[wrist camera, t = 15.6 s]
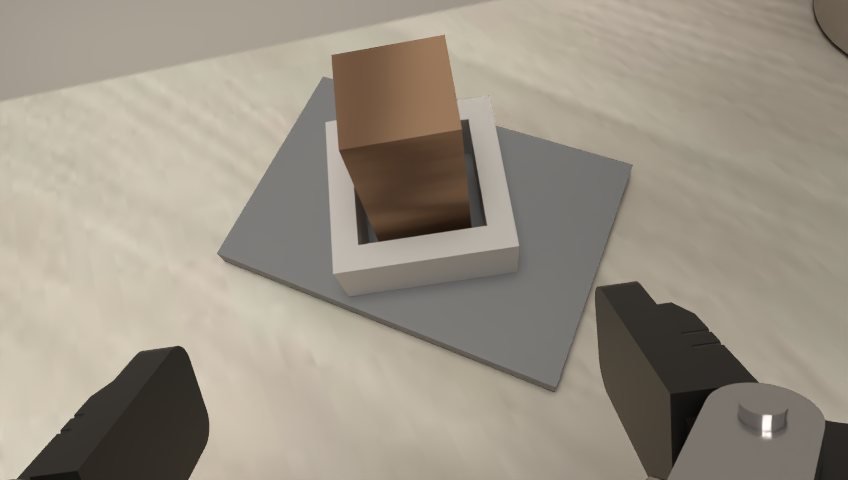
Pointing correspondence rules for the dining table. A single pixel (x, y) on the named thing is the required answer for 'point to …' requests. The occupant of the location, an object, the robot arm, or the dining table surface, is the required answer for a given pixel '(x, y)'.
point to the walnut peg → (403, 137)
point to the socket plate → (460, 310)
